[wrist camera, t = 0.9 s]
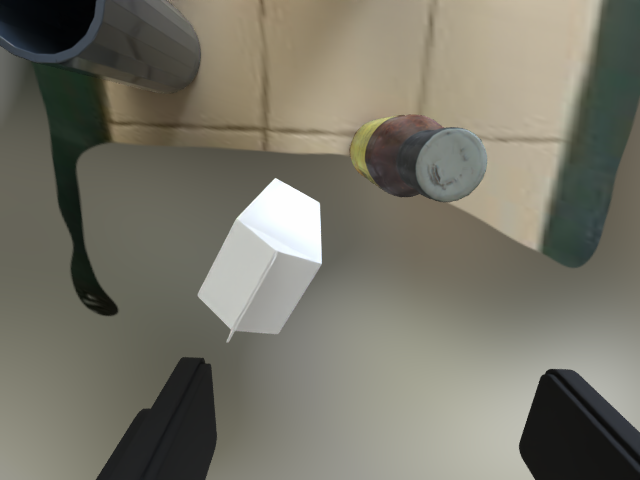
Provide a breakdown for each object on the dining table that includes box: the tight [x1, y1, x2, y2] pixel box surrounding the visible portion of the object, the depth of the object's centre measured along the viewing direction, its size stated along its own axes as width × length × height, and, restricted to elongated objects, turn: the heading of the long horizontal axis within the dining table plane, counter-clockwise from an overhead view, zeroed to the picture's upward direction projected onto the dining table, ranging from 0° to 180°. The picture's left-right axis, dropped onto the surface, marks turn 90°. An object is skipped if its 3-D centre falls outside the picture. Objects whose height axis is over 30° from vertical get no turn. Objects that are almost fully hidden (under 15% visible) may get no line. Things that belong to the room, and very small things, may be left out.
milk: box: [198, 178, 322, 343], centre depth 28 cm, size 6×6×22 cm
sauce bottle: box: [350, 115, 487, 202], centre depth 27 cm, size 7×6×20 cm
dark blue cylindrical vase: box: [0, 0, 201, 94], centre depth 26 cm, size 8×8×16 cm
